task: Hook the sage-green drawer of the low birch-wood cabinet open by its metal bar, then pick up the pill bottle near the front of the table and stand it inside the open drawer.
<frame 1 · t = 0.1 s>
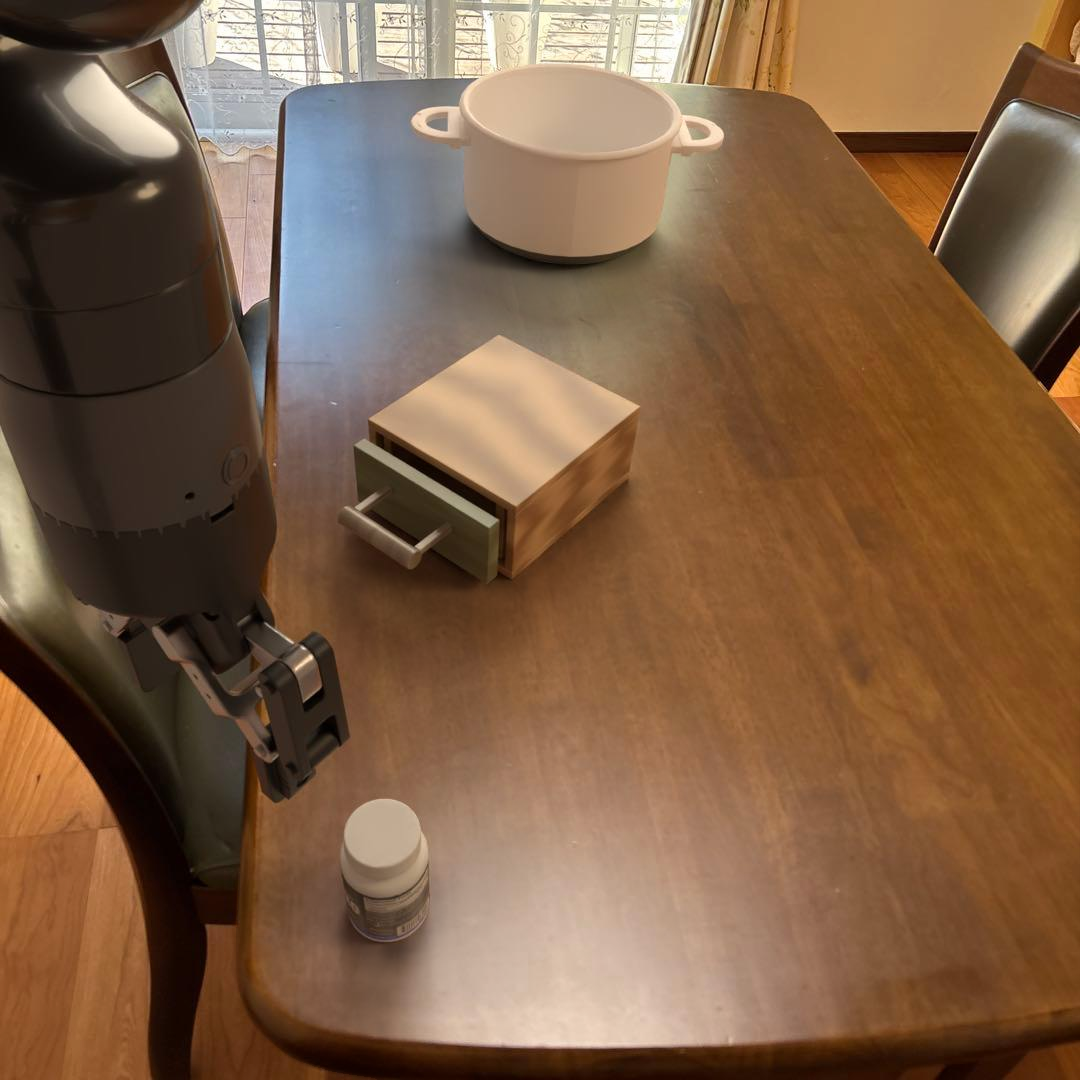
hand: (222, 729, 45), 19 cm above the table, tool pointing down, fingers open, 8 cm apart
pot: (560, 227, 116), on the table
cabinet: (503, 485, 85), on the table
drawer: (461, 482, 79), point 4 cm above the table, slide at 1.0 cm
pill bottle: (389, 905, 59), on the table
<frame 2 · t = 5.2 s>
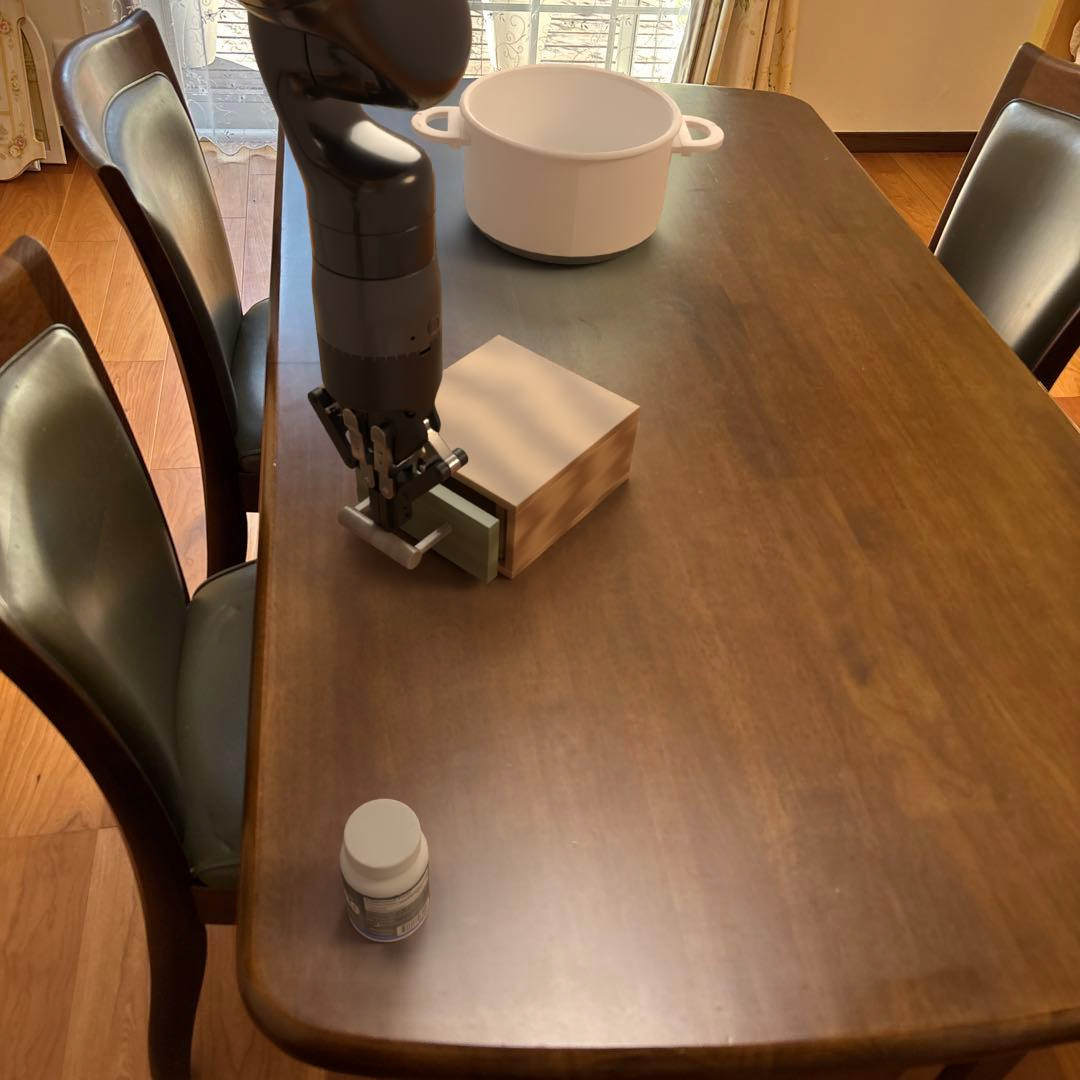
hand: (392, 522, 73), 5 cm above the table, tool pointing down, fingers closed
drawer: (461, 482, 79), point 4 cm above the table, slide at 1.0 cm, touching gripper
everything else where it was.
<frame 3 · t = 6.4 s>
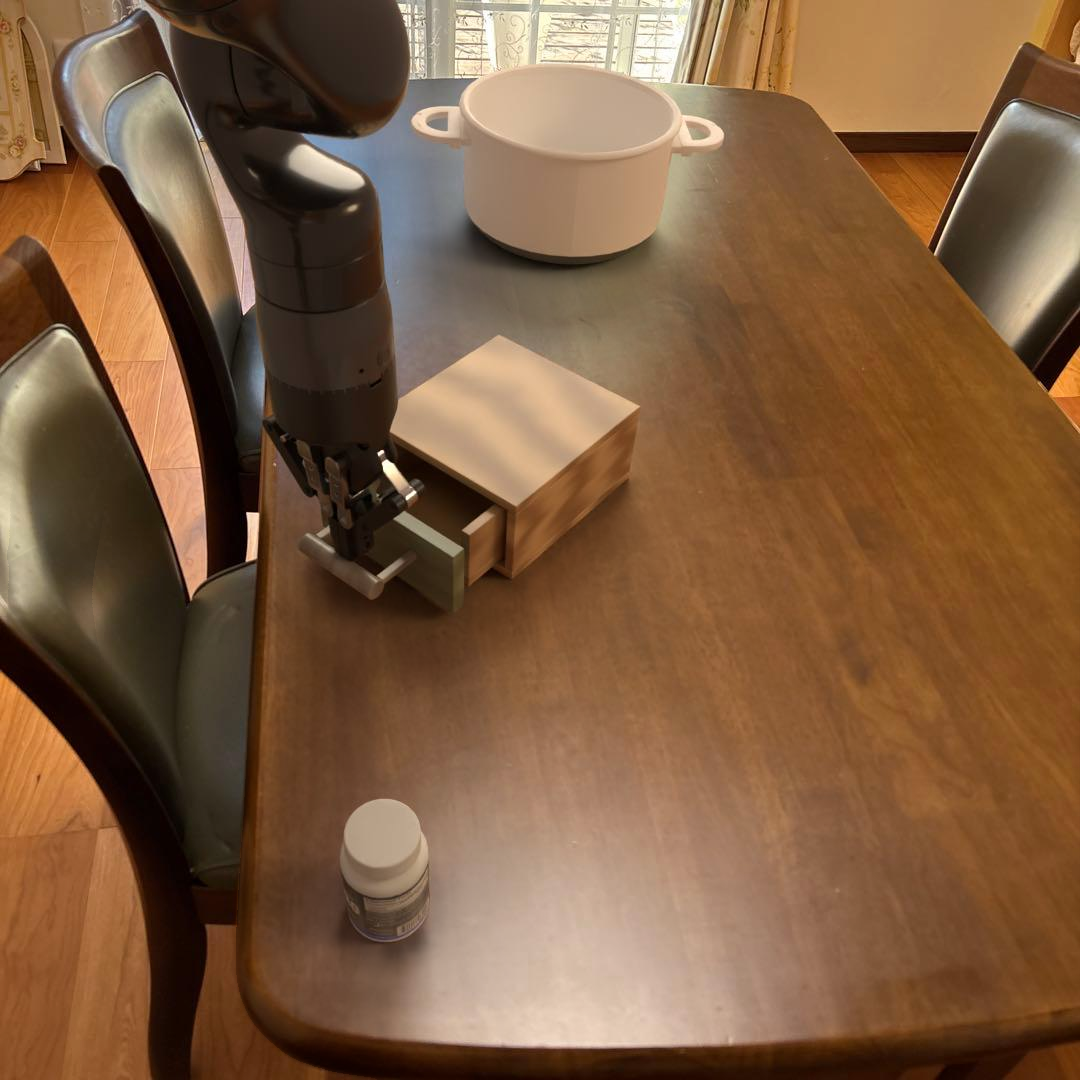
hand: (353, 550, 71), 5 cm above the table, tool pointing down, fingers closed
drawer: (428, 507, 77), point 4 cm above the table, slide at 4.8 cm, touching gripper
everything else where it was.
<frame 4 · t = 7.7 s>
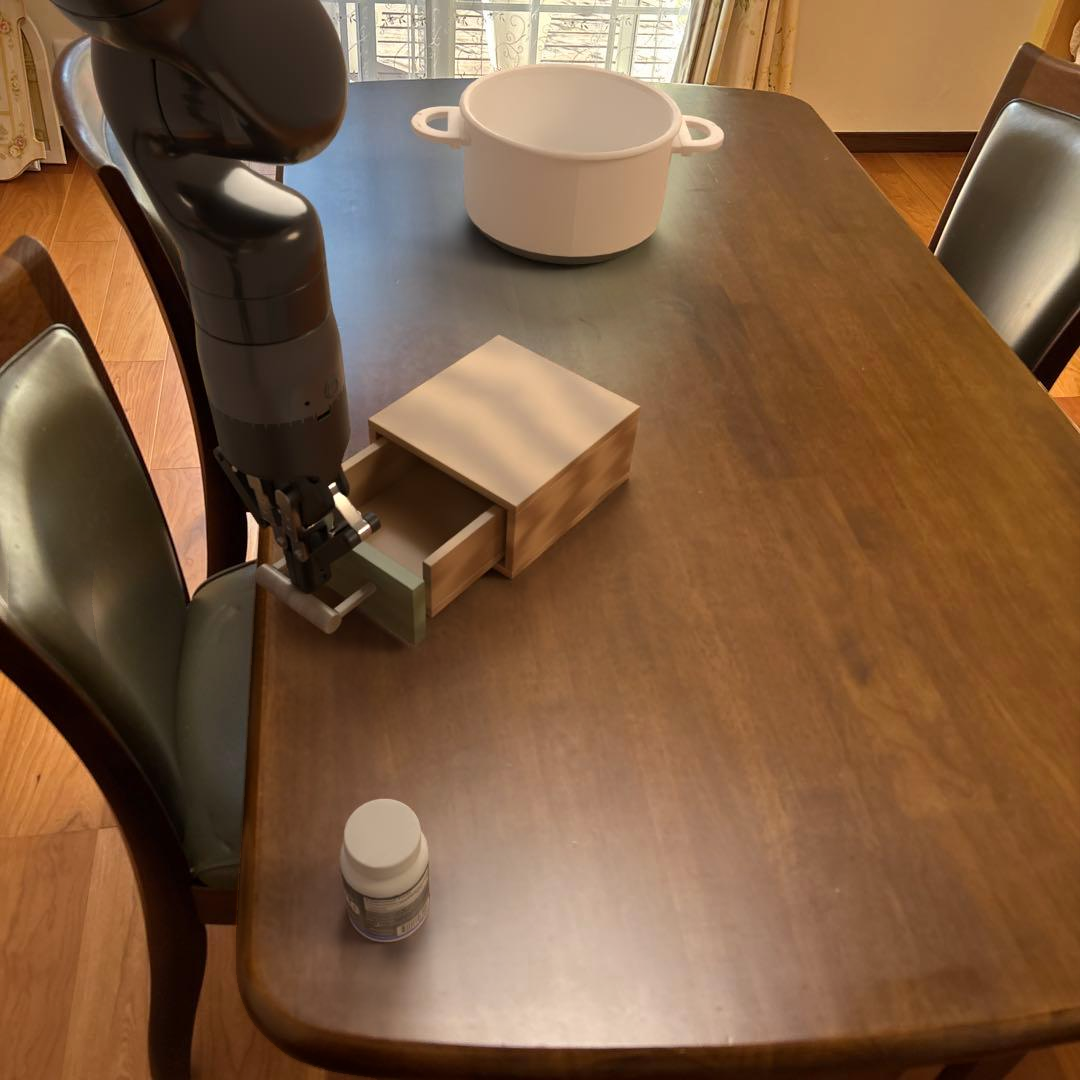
hand: (311, 581, 69), 5 cm above the table, tool pointing down, fingers closed
drawer: (391, 535, 74), point 4 cm above the table, slide at 8.7 cm, touching gripper
everything else where it was.
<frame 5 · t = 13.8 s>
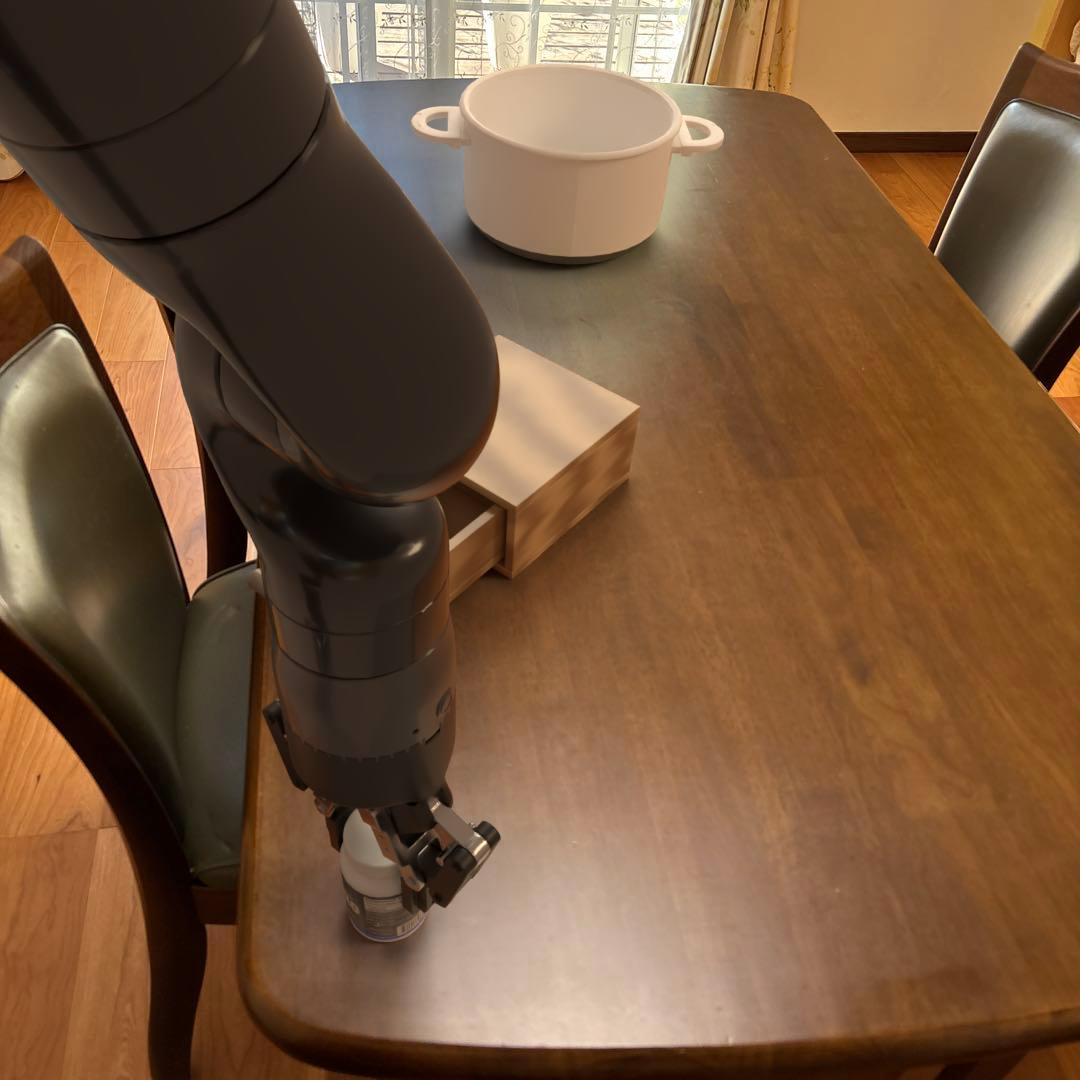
hand: (385, 868, 56), 4 cm above the table, tool pointing down, fingers closed on pill bottle, 4 cm apart
drawer: (385, 539, 74), point 4 cm above the table, slide at 9.3 cm
pill bottle: (389, 905, 59), on the table, touching gripper
everything else where it was.
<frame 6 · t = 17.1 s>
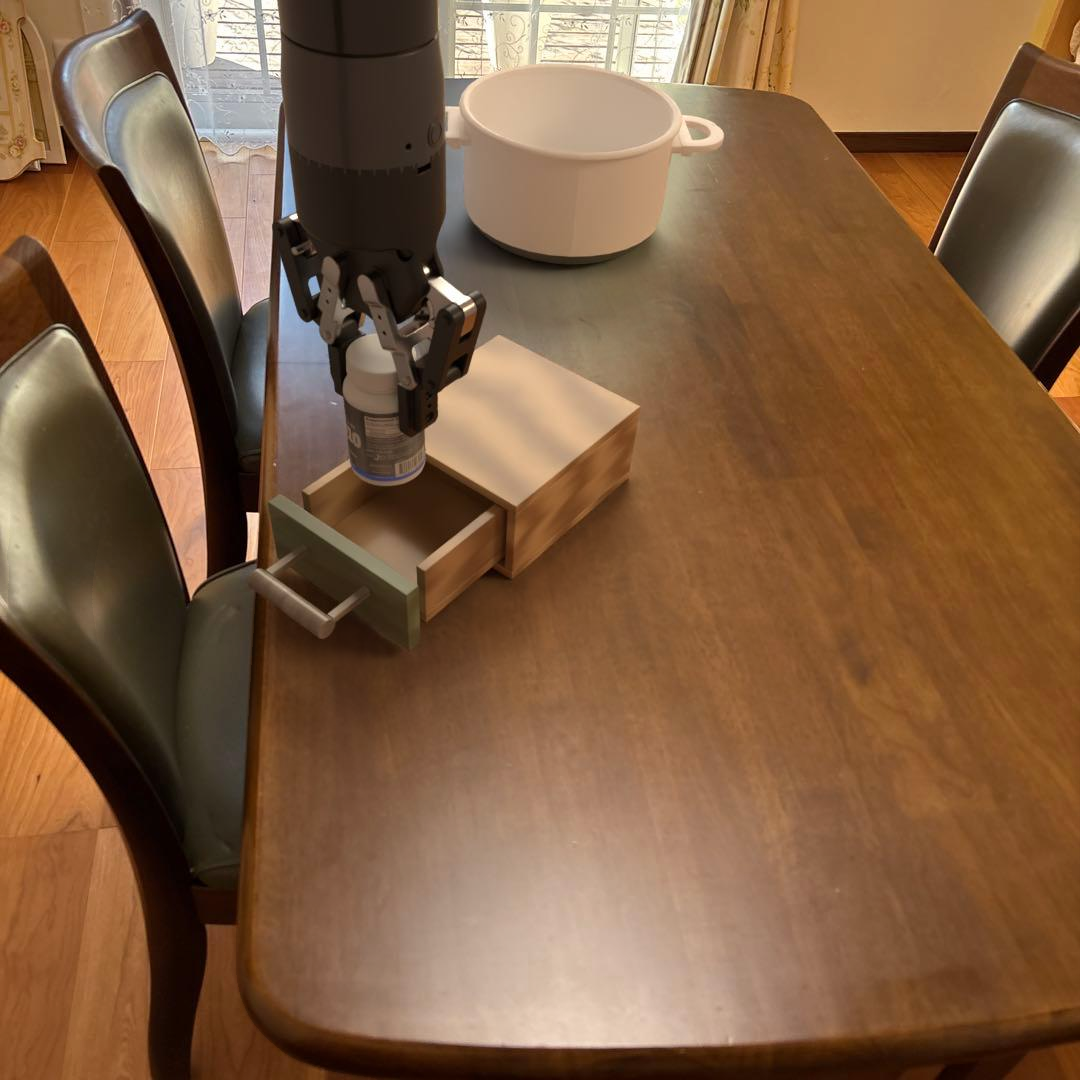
hand: (384, 408, 61), 19 cm above the table, tool pointing down, fingers closed on pill bottle, 4 cm apart
pill bottle: (388, 465, 64), point 14 cm above the table, touching gripper
everything else where it was.
when the fingers open (6 cm above the table, at t = 20.8 s): pill bottle stays where it is, resting on drawer.
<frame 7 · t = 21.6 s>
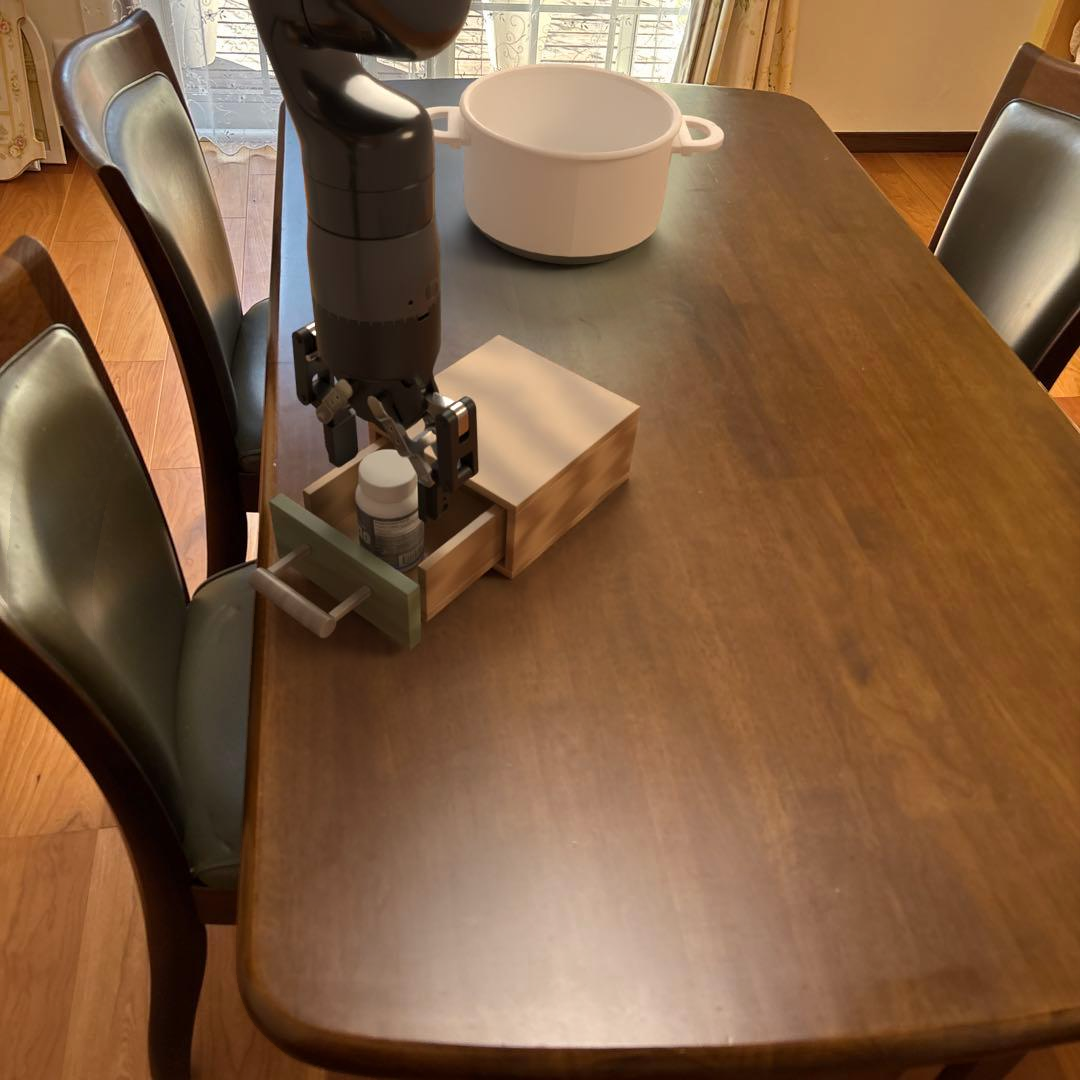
hand: (387, 487, 71), 9 cm above the table, tool pointing down, fingers open, 8 cm apart
drawer: (386, 538, 74), point 4 cm above the table, slide at 9.2 cm, touching pill bottle
pill bottle: (392, 554, 76), point 2 cm above the table, touching drawer
everything else where it was.
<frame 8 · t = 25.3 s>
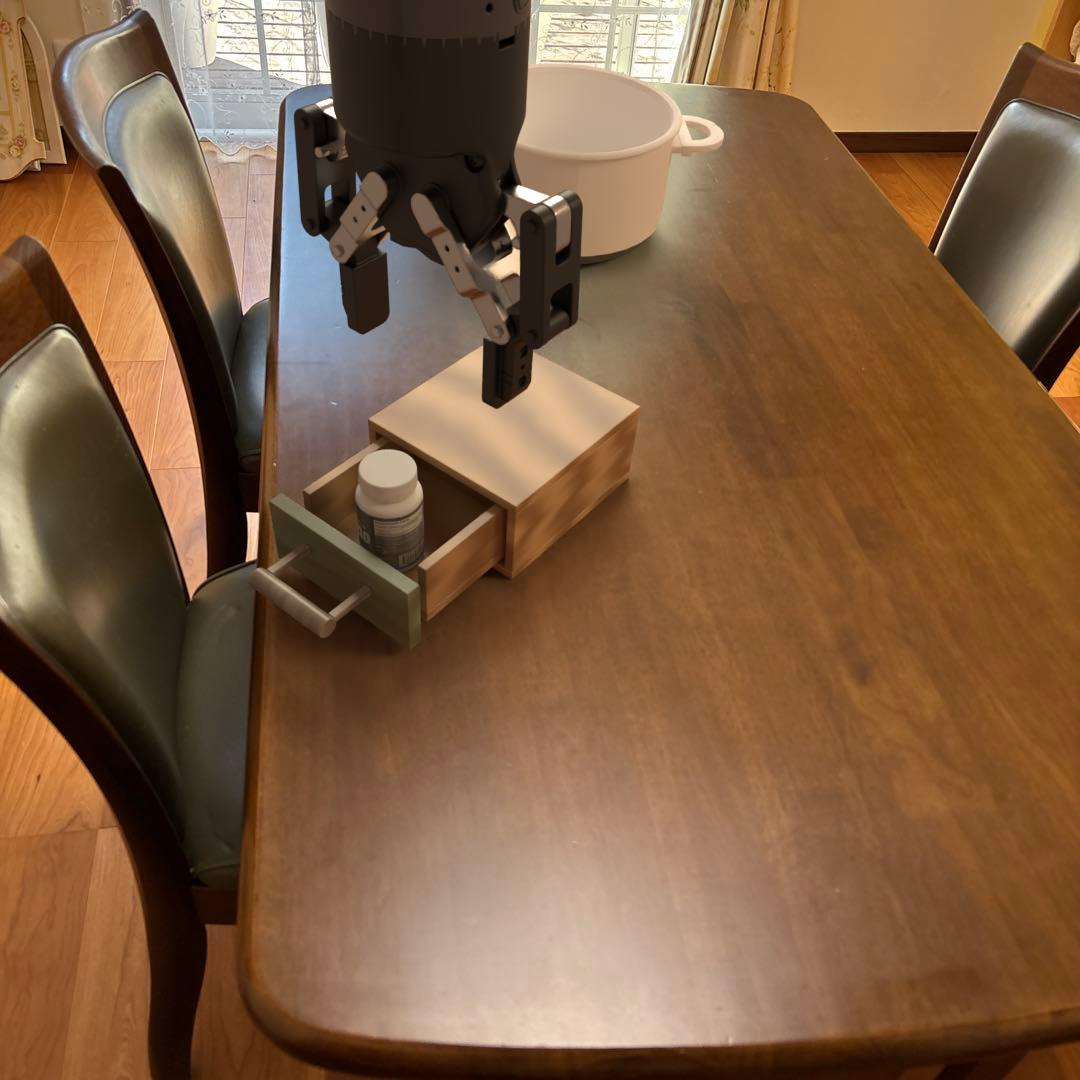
hand: (434, 361, 49), 28 cm above the table, tool pointing down, fingers open, 8 cm apart
nothing on the table moved.
at the end: drawer slide at 9.2 cm; pill bottle inside the target area in the drawer (0.2 cm from its centre), point 1.8 cm above the cabinet's base; pill bottle tilted 0° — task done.
